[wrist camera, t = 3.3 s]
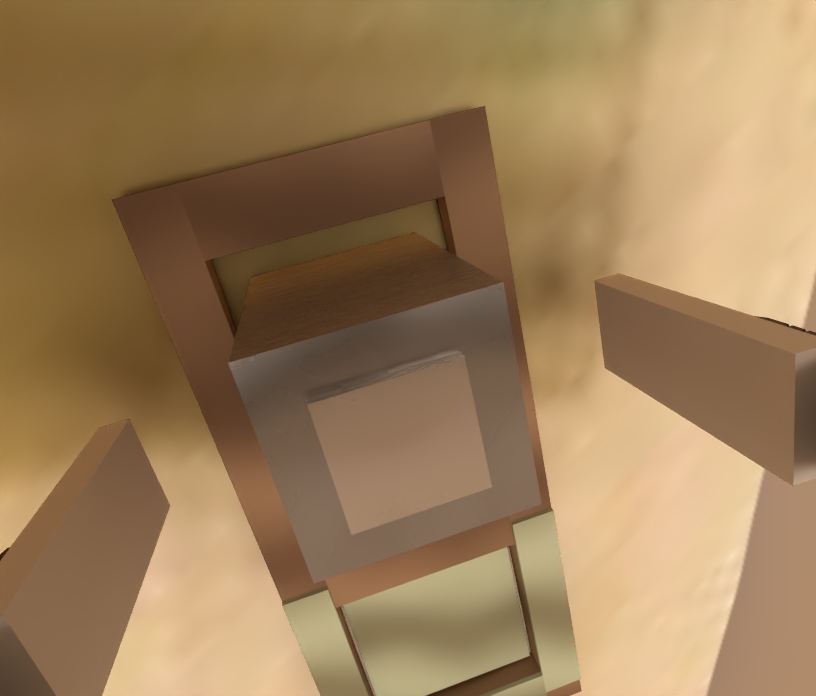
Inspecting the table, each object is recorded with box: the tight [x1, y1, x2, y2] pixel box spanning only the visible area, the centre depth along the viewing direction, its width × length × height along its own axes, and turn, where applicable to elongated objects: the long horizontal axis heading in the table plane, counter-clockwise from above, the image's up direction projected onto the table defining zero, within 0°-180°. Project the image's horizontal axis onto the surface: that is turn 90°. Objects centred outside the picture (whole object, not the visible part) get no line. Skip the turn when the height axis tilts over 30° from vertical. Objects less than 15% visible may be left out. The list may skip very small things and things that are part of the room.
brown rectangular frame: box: [112, 106, 581, 696], centre depth 21 cm, size 26×11×1 cm, turn 13°
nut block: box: [228, 232, 542, 583], centre depth 15 cm, size 6×6×8 cm
